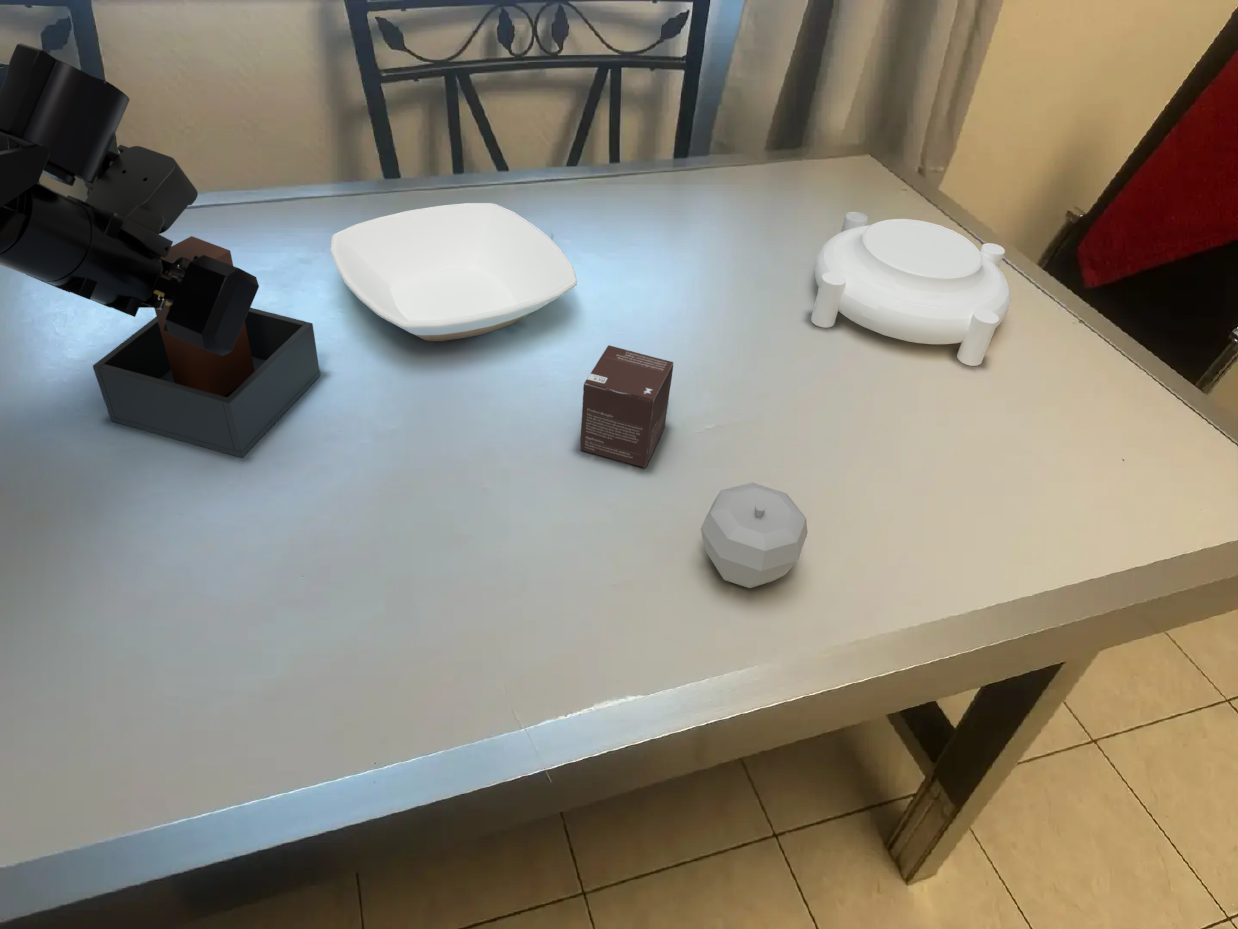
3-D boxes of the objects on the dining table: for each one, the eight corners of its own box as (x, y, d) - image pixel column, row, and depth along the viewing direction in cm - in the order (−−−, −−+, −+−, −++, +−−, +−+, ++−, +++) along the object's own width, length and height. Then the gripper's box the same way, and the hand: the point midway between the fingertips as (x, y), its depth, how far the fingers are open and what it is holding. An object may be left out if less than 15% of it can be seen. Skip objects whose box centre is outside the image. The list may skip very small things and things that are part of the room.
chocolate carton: (212, 405, 79) (181, 277, 71) (175, 388, 80) (140, 261, 72) (256, 374, 82) (231, 250, 74) (220, 359, 83) (191, 235, 76)
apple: (736, 516, 77) (751, 455, 72) (817, 571, 73) (837, 509, 69) (671, 565, 72) (682, 503, 68) (753, 626, 68) (770, 564, 64)
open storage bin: (110, 421, 79) (92, 365, 75) (200, 344, 88) (188, 291, 84) (242, 458, 77) (229, 403, 73) (320, 375, 86) (312, 323, 82)
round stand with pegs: (919, 238, 116) (937, 183, 112) (1063, 344, 101) (1091, 285, 96) (753, 267, 107) (764, 208, 103) (882, 389, 92) (903, 326, 87)
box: (666, 429, 84) (676, 361, 79) (645, 470, 80) (654, 401, 75) (601, 411, 85) (607, 342, 81) (577, 451, 81) (582, 381, 76)
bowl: (501, 235, 108) (501, 191, 104) (601, 332, 95) (605, 286, 91) (312, 275, 98) (306, 229, 95) (395, 390, 85) (390, 341, 82)
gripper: (212, 165, 60) (343, 251, 75) (5, 93, 66) (166, 187, 81) (143, 327, 60) (289, 381, 75) (-60, 241, 65) (114, 308, 80)
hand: (213, 308), depth 78 cm, fingers closed on chocolate carton, 4 cm apart
